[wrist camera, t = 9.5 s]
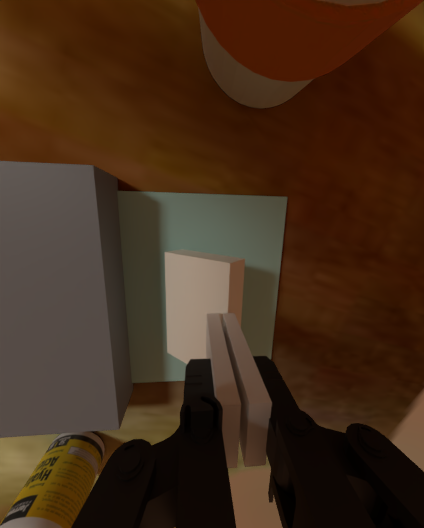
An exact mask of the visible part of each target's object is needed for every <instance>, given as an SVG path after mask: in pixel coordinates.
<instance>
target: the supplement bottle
mask: <svg viewBox="0 0 424 528" xmlns="http://www.w3.org/2000/svg"><path fill="white" fill-rule="evenodd" d="M104 451H105V448H104V444H103V442H102V440H101V439H100V438H99V437H98V436H97V435H96V434H94V433H92V432H90V431H88V432H74V433H62V434H61V435H59V436H58V437H57V438H56V439H55V440H54V441H53V442H52V444H51V445H50V447H49V448H48V450H47V451H46V453H45V455H44V456H43V458H42V459H41V461H40V462H39V464H38V465H37V467H36V469H35V470H34V472H33V473H32V475H31V476H30V478H29V479H28V481H27V483H26V484H25V486H24V487H23V489H22V490H21V492H20V493H19V495H18V497H17V498H16V500H15V501H14V503H13V504H12V506H11V508H10V509H9V511H8V512H7V514H6V516H5V517H4V519H3V520H2V522H1V523H0V528H71V527H72V525H73V523H74V521H75V519H76V518H77V516H78V514H79V512H80V510H81V508H82V507H83V505H84V503H85V501H86V499H87V498H88V496H89V493H90V490H91V488H92V485H93V483H94V480H95V478H96V475H97V472H98V470H99V467H100V465H101V462H102V459H103V456H104Z"/></svg>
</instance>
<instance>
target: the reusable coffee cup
mask: <svg viewBox="0 0 424 528" xmlns="http://www.w3.org/2000/svg"><path fill="white" fill-rule="evenodd" d="M195 1H196V3H197V5H198V7H199V16H200V27H201V37H202V45H203V53H204V56H205V59H206V63H207V66H208V68H209V70H210V72H211V74H212V77H213V78H214V80H215V81H216V83H217V84H218V85H219V87H220V88H221V89H222V90H223V91H224V92H225V93H226V94H227V95H228V96H229V97H230V98H232V99H233V100H235V101H237V102H238V103H240V104H243V105H245V106H248V107H252V108H270V107H274V106H277V105H280V104H283V103H284V102H286V101H287V100H289V99H291V98H292V97H293V96H295V95H296V94H297V93H298V92H299V91H300V90H302V89H303V88H304V87H305V86H306V85H307V84H309V83H310V82H311V81H312V80H313V79H314V78H317V77H320V76H322V75H325V74H328V73H329V72H331V71H333V70H334V69H336V68H338V67H339V66H341V65H342V64H344V63H345V62H347V61H348V60H349V59H350V58H352V57H353V56H354V55H355V54H357V53H358V52H359V51H361V50H362V49H363V48H364V47H366V46H367V45H368V44H369V43H371V42H372V41H373V40H374V39H376V38H377V37H378V36H379V35H381V34H382V33H383V32H385V31H386V30H387V29H388V28H390V27H391V26H392V25H393V24H395V23H396V22H397V21H398V20H400V19H401V18H402V17H403V16H405V15H406V14H407V13H409V12H410V11H411V10H412V9H414V8H415V7H416V6H417V5H419V4H420V3H421V2H422V1H424V0H195Z"/></svg>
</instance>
